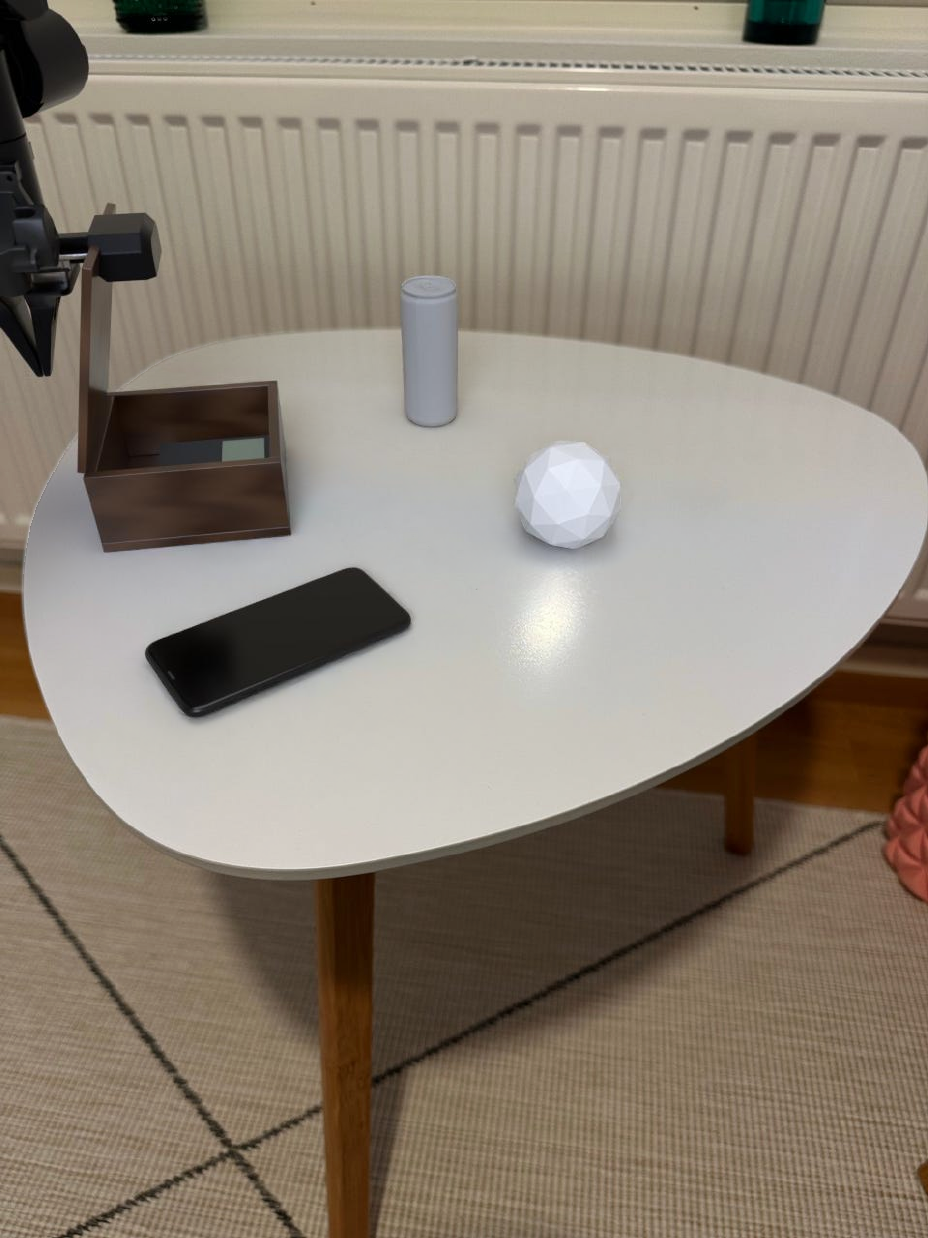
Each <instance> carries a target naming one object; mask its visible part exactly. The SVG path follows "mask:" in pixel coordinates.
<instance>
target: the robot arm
mask: <svg viewBox="0 0 928 1238" xmlns="http://www.w3.org/2000/svg"><path fill="white" fill-rule="evenodd" d="M48 2H49V1H48V0H0V330H1V331H2V332H3V333H4V335H5V336H6V337H7V338H8V340H9V341H10V342H11V344H12V345H13V347H14V348H15V349H16V350H17V352H18V353H19V354H20V356H21V357H22V359H23V360H24V362H25V363H26V364H27V365H28V367H29V369H31V371H32V372H33V373H34V375H35V376H36V377H37V378H43V377H46V378H47V377H48V378H49V377H52V374H53V370H54V359H55V351H56V350H55V348H56V337H57V336H56V335H57V327H58V316H59V308H60V303H61V298H62V297H66V296H69V295H71V294H72V292H73V290H74V288H75V285H76V283H77V281H78V278H79V275H80V273H81V271H82V267H81V264H84V261H85V259H86V256H87V253H88V251H89V248H90V246H91V245H94V246H97V247H100V253H99V277H101V278H102V279H103V280H105V281H106V282H113V283H119V282H135V281H149V280H151V279H154V278H156V277H158V274H159V273H158V272H159V268H160V262H161V258H162V253H163V250H162V245H161V240H160V235H159V229H158V226H157V223H156V221H155V220H154V219H153V218H152V217H151V216H150V215H149V214H147V213H146V212H130V213H129V212H128V213H127V212H126V213H116V214H106V215H103V214H94V215H93V218H92V220H91V223H90V226H89V228H88V230H87V231H82V232H81V231H80V232H62V233H59V232H58V230H57V226H56V224H55V220H54V218H53V216H52V215H51V214H50V211H49V209H48V207H46V205H45V200H44V196H43V193H42V189H41V185H40V181H39V177H38V173H37V170H36V165H35V162H34V160H35V155H34V151H33V147H32V143H31V141H29V138H28V134H27V132H26V127H25V122H24V119H27V118H31V117H33V116H36V115H38V114H40V113H42V112H45V111H47V110H49V109H52V108H54V107H56V106H60V105H61V104H63V103H65V102H68V101H70V100H73V99H74V98H75V97H77V96H79V95H80V94H81V92H82V91H83V90H84V89H85V87H86V85H87V82H88V79H89V72H90V63H89V62H90V61H89V56H88V51H87V47H86V46H85V45H84V44H83V42H82V41H81V38H80V36H79V34H78V33H77V31H76V30H75V29H74V27H73V26H72V25H71V23H70V22H69V21H68V20H66V18H65V17H63V15H62V14H60V13H58V12H57V11H55V10H54V9H52V8H50V7H49V3H48Z"/></svg>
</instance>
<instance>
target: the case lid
mask: <svg viewBox="0 0 928 1238" xmlns="http://www.w3.org/2000/svg"><path fill="white" fill-rule="evenodd" d="M116 210H117V205H116V204H115V203H111V202H107V203H106V204H105V207H104V210H103V213H102V215H106V214H117V213H116ZM99 253H100V247H97V246H94V245H91V246H90V248H89V251H88V253H87V256H86V259H85V261H84V263H82V267H81V284H80V285H81V287H80V288H81V289H80V324H79V325H80V326H79V327H80V330H79V332H80V333H79V371H78V372H79V373H78V374H79V377H78V414H77V415H78V416H77V417H78V418H77V419H78V422H77V424H78V425H77V462H76V463H77V467H76V468H77V469H76V472H77V474H83V475H84V474H86V473H87V469H88V465H89V461H90V457H91V453H92V450H93V446H94V442H95V438H96V434H97V430H98V426H99V423H100V419H101V415H102V411H103V407H104V403H105V399H106V395H107V392H109V384H110V383H109V382H110V359H111V333H112V313H113V311H112V310H113V309H112V308H113V305H112V304H113V288H114V287H113V285H114V282H106V281H105V280H103V279H102V278H101V277H99Z"/></svg>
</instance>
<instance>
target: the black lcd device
mask: <svg viewBox="0 0 928 1238" xmlns="http://www.w3.org/2000/svg"><path fill="white" fill-rule="evenodd" d="M259 458H270V454H269V435H264V436H252V437H239V438H227V439H214V440H202V441H189V442H176V443H164V444H161V445H160V452H159V458H158V465H157V467H161V466H173V465H185V464H198V463H210V462H222V461H234V460H247V459H259Z"/></svg>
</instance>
